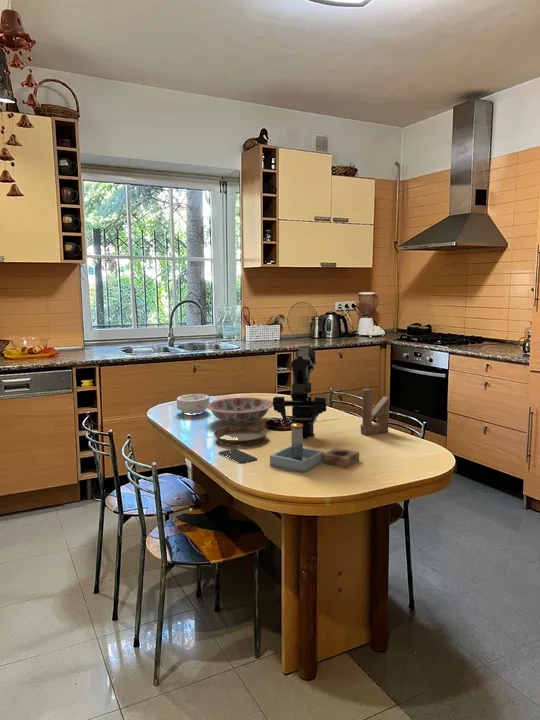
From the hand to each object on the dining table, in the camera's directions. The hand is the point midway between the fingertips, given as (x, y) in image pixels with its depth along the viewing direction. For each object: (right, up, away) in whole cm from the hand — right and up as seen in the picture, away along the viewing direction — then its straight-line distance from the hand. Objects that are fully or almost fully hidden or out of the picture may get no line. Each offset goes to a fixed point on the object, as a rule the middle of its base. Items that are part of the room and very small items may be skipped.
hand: (298, 424), depth 183 cm
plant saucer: (-21, -9, +23) cm, 32 cm away
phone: (-21, -12, +2) cm, 24 cm away
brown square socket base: (+14, -12, -6) cm, 19 cm away
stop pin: (-1, -11, -6) cm, 13 cm away
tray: (-1, -12, -6) cm, 14 cm away
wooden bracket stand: (+32, -7, +28) cm, 43 cm away
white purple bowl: (-46, -3, +67) cm, 81 cm away
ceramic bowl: (-23, -5, +49) cm, 55 cm away
